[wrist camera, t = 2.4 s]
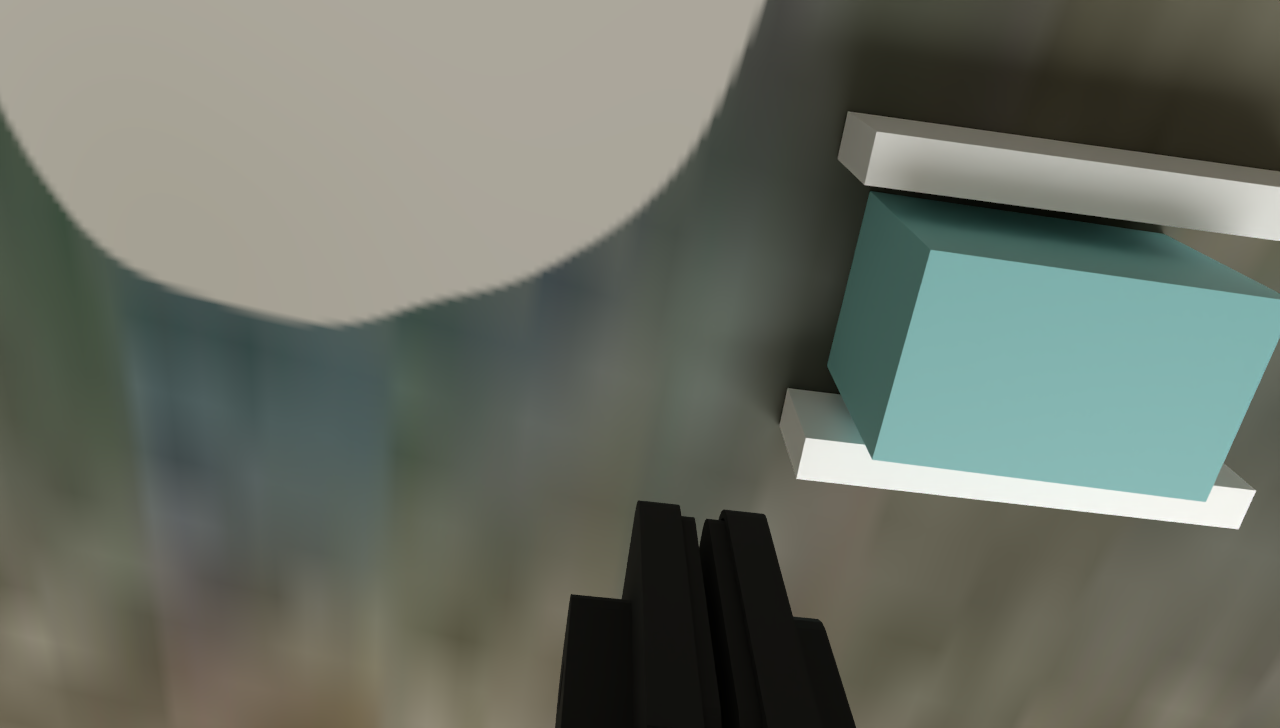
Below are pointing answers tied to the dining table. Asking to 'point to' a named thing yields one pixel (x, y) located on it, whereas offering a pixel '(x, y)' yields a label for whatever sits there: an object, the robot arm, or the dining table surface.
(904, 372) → the teal block
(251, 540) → the dining table surface
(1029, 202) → the channel
